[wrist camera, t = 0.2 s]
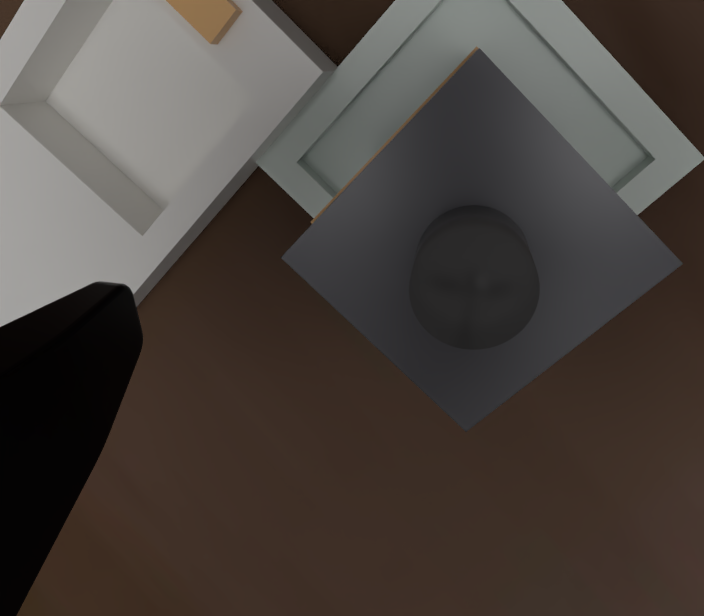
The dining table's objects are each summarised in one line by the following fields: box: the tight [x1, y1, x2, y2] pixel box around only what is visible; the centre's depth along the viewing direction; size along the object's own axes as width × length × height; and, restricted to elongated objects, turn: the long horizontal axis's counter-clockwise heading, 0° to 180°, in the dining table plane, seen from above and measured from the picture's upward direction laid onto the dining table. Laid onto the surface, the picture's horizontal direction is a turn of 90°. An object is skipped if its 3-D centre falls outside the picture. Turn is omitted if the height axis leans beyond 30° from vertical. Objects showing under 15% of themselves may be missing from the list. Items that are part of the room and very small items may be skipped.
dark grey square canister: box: [281, 46, 683, 431], centre depth 15 cm, size 5×5×14 cm
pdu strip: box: [0, 0, 337, 327], centre depth 24 cm, size 24×8×4 cm, turn 137°
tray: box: [256, 0, 704, 218], centre depth 21 cm, size 10×10×1 cm
